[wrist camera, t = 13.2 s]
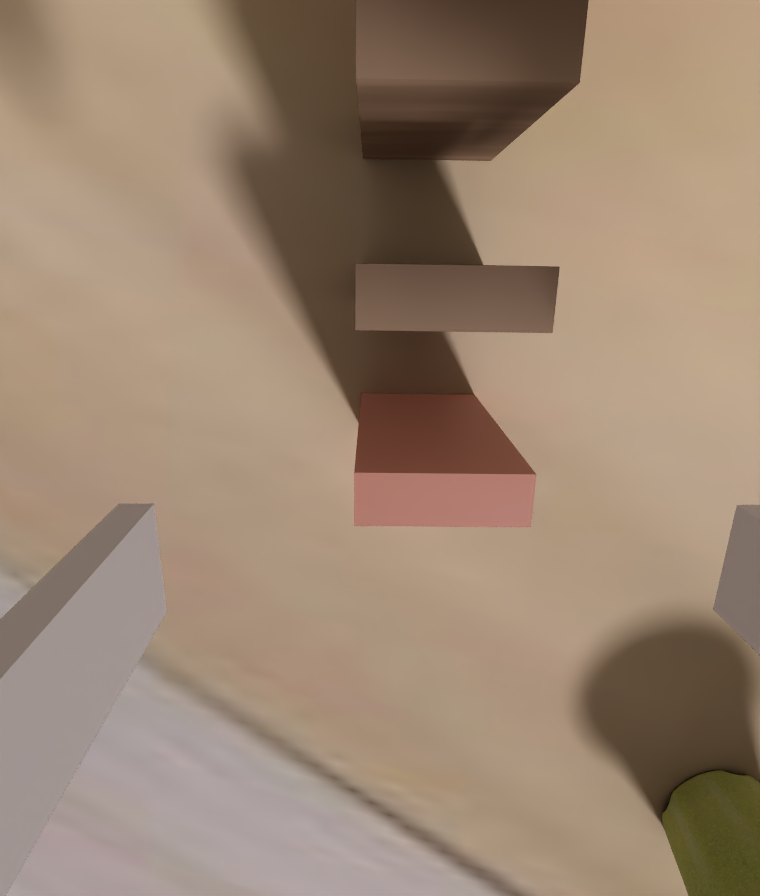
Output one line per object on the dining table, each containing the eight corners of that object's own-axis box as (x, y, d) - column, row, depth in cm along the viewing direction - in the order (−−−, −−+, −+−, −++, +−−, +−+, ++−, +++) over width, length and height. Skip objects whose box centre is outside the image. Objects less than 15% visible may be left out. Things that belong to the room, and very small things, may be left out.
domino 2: (480, 305, 24) (552, 332, 14) (362, 303, 24) (355, 330, 14) (483, 265, 23) (559, 266, 14) (362, 263, 23) (355, 263, 14)
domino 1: (490, 160, 22) (580, 82, 13) (363, 158, 22) (355, 78, 13) (493, 114, 22) (589, -4, 12) (363, 111, 22) (356, -9, 12)
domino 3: (471, 428, 26) (530, 527, 16) (361, 427, 25) (354, 525, 16) (474, 394, 25) (536, 474, 16) (361, 393, 25) (354, 472, 15)
